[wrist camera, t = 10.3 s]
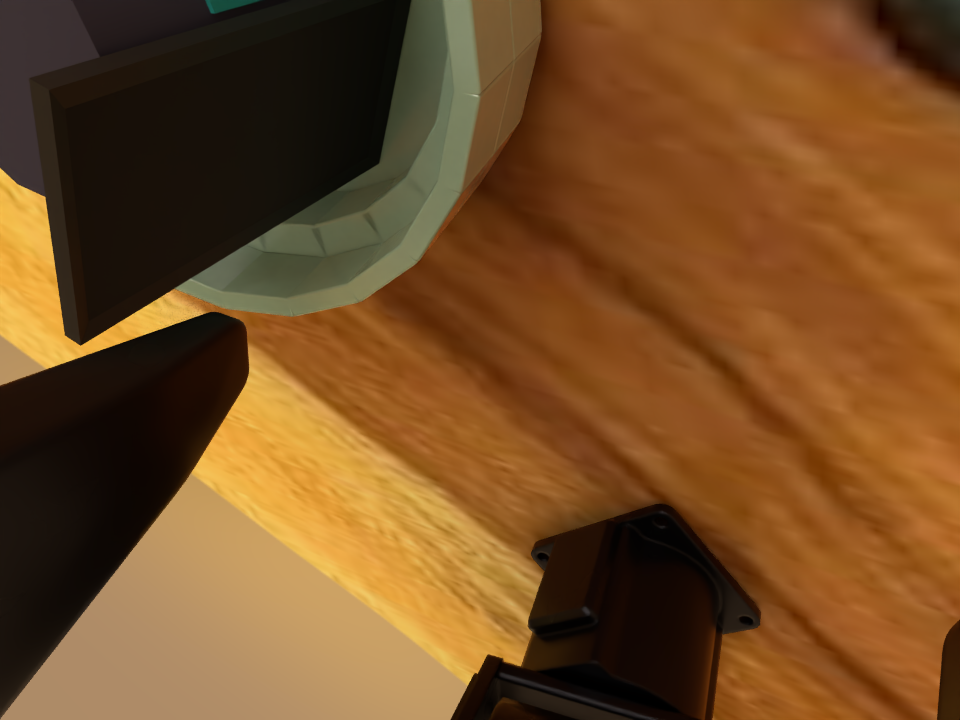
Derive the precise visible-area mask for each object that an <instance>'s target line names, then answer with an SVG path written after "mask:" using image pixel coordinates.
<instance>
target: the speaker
mask: <svg viewBox="0 0 960 720" xmlns="http://www.w3.org/2000/svg"><path fill="white" fill-rule="evenodd" d="M410 3H411V0H0V168H1V169H2V170H3V171H4V172H5V173H6V174H7V175H9V176H10V177H11V178H12V179H13V180H14V181H15V182H16V183H17V184H19V185H21V186H23V187H25V188H27V189H29V190H32V191H34V192H36V193H38V194H40V195H43V196H45V197H46V204H47V211H48V218H49V225H50V232H51V239H52V246H53V253H54V260H55V268H56V275H57V282H58V289H59V296H60V303H61V310H62V317H63V324H64V331H65V336H67V337H68V338H70V339H71V340H73V341H74V342H76V343H77V344H79V345H83V344H84V343H86V342H88V341H89V340H91V339H92V338H94V337H96V336H97V335H99V334H101V333H102V332H104V331H106V330H107V329H109V328H111V327H112V326H114V325H115V324H117V323H119V322H120V321H122V320H124V319H125V318H127V317H129V316H130V315H132V314H133V313H135V312H137V311H138V310H140V309H142V308H143V307H145V306H147V305H148V304H150V303H152V302H153V301H155V300H156V299H158V298H160V297H161V296H163V295H165V294H166V293H168V292H170V291H171V290H173V289H174V288H176V287H178V286H179V285H181V284H183V283H184V282H186V281H188V280H189V279H191V278H193V277H194V276H196V275H197V274H199V273H201V272H202V271H204V270H206V269H207V268H209V267H211V266H212V265H214V264H215V263H217V262H219V261H220V260H222V259H224V258H225V257H227V256H229V255H230V254H232V253H234V252H235V251H237V250H238V249H240V248H242V247H243V246H245V245H247V244H248V243H250V242H252V241H253V240H255V239H256V238H258V237H260V236H261V235H263V234H265V233H266V232H268V231H270V230H271V229H273V228H275V227H276V226H278V225H279V224H281V223H283V222H284V221H286V220H288V219H289V218H291V217H293V216H294V215H296V214H297V213H299V212H301V211H302V210H304V209H306V208H307V207H309V206H311V205H312V204H314V203H316V202H317V201H319V200H320V199H322V198H324V197H325V196H327V195H329V194H330V193H332V192H334V191H335V190H337V189H338V188H340V187H342V186H343V185H345V184H347V183H348V182H350V181H352V180H353V179H355V178H357V177H358V176H360V175H361V174H363V173H365V172H366V171H368V170H370V169H371V168H373V167H375V166H376V165H378V164H379V162H380V157H381V152H382V147H383V141H384V136H385V131H386V126H387V121H388V116H389V111H390V106H391V100H392V95H393V90H394V85H395V80H396V75H397V70H398V65H399V59H400V54H401V49H402V44H403V39H404V34H405V29H406V24H407V19H408V13H409V8H410Z"/></svg>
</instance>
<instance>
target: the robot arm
mask: <svg viewBox="0 0 960 720" xmlns="http://www.w3.org/2000/svg"><path fill="white" fill-rule="evenodd" d="M248 374H249V359H248V344H247V331H246V327H245V325H244V323H243V322H242V321H240V320H238V319H236V318H233V317H230V316H227V315H224V314H222V313H219V312H210V313H206V314H203V315H200V316H197V317H194V318H192V319H189V320H186V321H183V322H180V323H177V324H175V325H172V326H169V327H166V328H163V329H160V330H157V331H155V332H152V333H149V334H146V335H143V336H140V337H137V338H135V339H132V340H129V341H126V342H123V343H120V344H117V345H115V346H112V347H109V348H106V349H103V350H100V351H97V352H95V353H92V354H89V355H86V356H83V357H80V358H78V359H75V360H72V361H69V362H66V363H63V364H60V365H58V366H55V367H52V368H49V369H46V370H43V371H41V372H38V373H35V374H32V375H29V376H26V377H23V378H20V379H18V380H15V381H12V382H9V383H7V384H3V385H1V386H0V718H1V717H2V716H3V715H4V713H5V712H6V711H7V710H8V708H9V707H10V706H11V704H12V703H13V702H14V700H15V699H16V698H17V697H18V695H19V694H20V693H21V692H22V690H23V689H24V688H25V686H26V685H27V684H28V683H29V681H30V680H31V679H32V678H33V676H34V675H35V674H36V672H37V671H38V670H39V669H40V667H41V666H42V665H43V663H44V662H45V661H46V660H47V658H48V657H49V656H50V655H51V653H52V652H53V651H54V649H55V648H56V647H57V646H58V644H59V643H60V642H61V640H62V639H63V638H64V637H65V635H66V634H67V632H68V631H69V630H70V629H71V628H72V626H73V625H74V624H75V622H76V621H77V620H78V619H79V617H80V616H81V615H82V614H83V612H84V611H85V610H86V609H87V607H88V606H89V605H90V603H91V602H92V601H93V600H94V598H95V597H96V596H97V594H98V593H99V592H100V591H101V589H102V588H103V587H104V585H105V584H106V583H107V582H108V580H109V579H110V578H111V577H112V575H113V574H114V573H115V571H116V570H117V569H118V568H119V566H120V565H121V564H122V562H123V561H124V560H125V559H126V557H127V556H128V555H129V554H130V552H131V551H132V550H133V548H134V547H135V546H136V545H137V543H138V542H139V541H140V539H141V538H142V537H143V536H144V534H145V533H146V532H147V531H148V529H149V528H150V527H151V525H152V524H153V523H154V522H155V520H156V519H157V518H158V516H159V515H160V514H161V513H162V511H163V510H164V509H165V507H166V506H167V505H168V504H169V502H170V501H171V500H172V499H173V497H174V496H175V495H176V493H177V492H178V491H179V489H180V488H181V487H182V485H183V484H184V482H185V481H186V480H187V478H188V477H189V475H190V474H191V472H192V471H193V469H194V467H195V466H196V464H197V463H198V461H199V459H200V458H201V456H202V455H203V453H204V451H205V450H206V448H207V446H208V445H209V443H210V442H211V440H212V438H213V437H214V435H215V433H216V432H217V430H218V429H219V427H220V425H221V424H222V422H223V420H224V419H225V417H226V416H227V414H228V412H229V411H230V409H231V407H232V406H233V404H234V402H235V401H236V399H237V398H238V396H239V394H240V393H241V391H242V389H243V388H244V386H245V384H246V381H247V378H248ZM659 517H662V518H665V519H662V518H659ZM531 556H532V558H533V559H534V560H535V562H536V563H537V564H538V565H539V566H540V567H541V568H542V569H543V570H544V571H545V572H544V575H543V578H542V581H541V584H540V587H539V589H538V592H537V595H536V598H535V601H534V604H533V607H532V610H531V613H530V616H529V620H528V627H529V629H530V630H531V631H532V635H531V638H530V641H529V644H528V647H527V650H526V653H525V656H524V659H523V662H522V665H521V667H520V666H517V665H513V664H510V663H506V662H504V660H503V658H499V657H496V656H492V655H489V654H488V655H487V657H486V659H485V661H484V663H483V665H482V666H481V668H480V670H479V672H478V674H477V673H475V674H474V675H473V677H472V679H471V681H470V683H469V685H468V687H467V689H466V691H465V693H464V695H463V696H462V698H461V700H460V703H459V704H458V706H457V708H456V710H455V712H454V714H453V716H452V718H451V720H712V718H713V710H714V701H715V693H716V684H717V676H718V667H719V659H720V650H721V642H722V634H727V633H733V632H738V631H744V630H750V629H754V628H757V627H758V626H759V625H760V619H761V612H760V610H759V608H758V607H757V606H756V605H755V604H754V602H753V601H752V600H751V599H750V598H749V597H748V595H747V594H746V593H745V592H744V591H743V590H742V588H741V587H740V586H739V585H738V584H737V582H736V581H735V580H734V579H733V578H732V577H731V575H730V574H729V573H728V572H727V571H726V569H725V568H724V567H723V566H722V565H721V564H720V562H719V561H718V560H717V559H716V558H715V557H714V555H713V554H712V553H711V552H710V551H709V549H708V548H707V547H706V546H705V545H704V544H703V542H702V541H701V540H700V539H699V538H698V537H697V535H696V534H695V533H694V532H693V531H692V529H691V528H690V527H689V526H688V525H687V524H686V522H685V521H684V520H683V519H682V518H681V517H680V515H679V514H678V513H677V512H676V511H675V510H674V509H673V508H672V507H670V506H668V505H665V504H656V505H652V506H649V507H646V508H642V509H639V510H636V511H633V512H630V513H626V514H623V515H620V516H617V517H614V518H610V519H607V520H604V521H601V522H597V523H594V524H591V525H588V526H585V527H581V528H578V529H575V530H572V531H569V532H565V533H562V534H559V535H556V536H552V537H549V538H546V539H543V540H540V541H537V542H536V543H535V544H534V546H533V549H532V552H531ZM937 720H960V620H959V621H958V622H957V623H956V624H955V625H954V626H953V627H952V628H951V629H950V630H949V632H948V634H947V636H946V638H945V641H944V645H943V652H942V665H941V677H940V689H939V702H938V714H937Z"/></svg>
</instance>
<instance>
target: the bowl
mask: <svg viewBox="0 0 960 720" xmlns="http://www.w3.org/2000/svg"><path fill="white" fill-rule="evenodd" d="M541 33H542V22H541V3H540V0H411V3H410V8H409V13H408V19H407V24H406V29H405V34H404V39H403V44H402V49H401V54H400V59H399V65H398V70H397V75H396V80H395V85H394V90H393V95H392V100H391V106H390V111H389V116H388V121H387V126H386V131H385V136H384V141H383V147H382V152H381V157H380V162H379V164H378V165H376V166H375V167H373V168H371V169H370V170H368V171H366V172H365V173H363V174H361V175H360V176H358V177H357V178H355V179H353V180H352V181H350V182H348V183H347V184H345V185H343V186H342V187H340V188H338V189H337V190H335V191H334V192H332V193H330V194H329V195H327V196H325V197H324V198H322V199H320V200H319V201H317V202H316V203H314V204H312V205H311V206H309V207H307V208H306V209H304V210H302V211H301V212H299V213H297V214H296V215H294V216H293V217H291V218H289V219H288V220H286V221H284V222H283V223H281V224H279V225H278V226H276V227H275V228H273V229H271V230H270V231H268V232H266V233H265V234H263V235H261V236H260V237H258V238H256V239H255V240H253V241H252V242H250V243H248V244H247V245H245V246H243V247H242V248H240V249H238V250H237V251H235V252H234V253H232V254H230V255H229V256H227V257H225V258H224V259H222V260H220V261H219V262H217V263H215V264H214V265H212V266H211V267H209V268H207V269H206V270H204V271H202V272H201V273H199V274H197V275H196V276H194V277H193V278H191V279H189V280H188V281H186V282H184V283H183V284H181V285H179V286H178V287H176V288H174V289H176V290H179V291H181V292H184V293H186V294H189V295H191V296H194V297H196V298H199V299H201V300H204V301H206V302H209V303H211V304H214V305H216V306H219V307H221V308H225V309H230V310H239V311H247V312H256V313H264V314H273V315H281V316H290V317H293V316H300V315H305V314H309V313H314V312H318V311H323V310H328V309H332V308H337V307H341V306H346V305H351V304H355V303H359V302H362V301H364V300H365V299H367V298H368V297H369V296H371V295H372V294H374V293H375V292H377V291H378V290H380V289H381V288H382V287H384V286H385V285H387V284H388V283H390V282H391V281H393V280H394V279H395V278H397V277H398V276H400V275H401V274H403V273H404V272H406V271H407V270H408V269H410V268H411V267H413V266H414V265H416V264H417V263H418V262H419V260H421V258H422V257H423V256H424V255H425V253H426V252H427V251H428V250H429V248H430V247H431V246H432V244H433V243H434V242H435V241H436V239H437V238H438V237H439V236H440V234H441V233H442V232H443V230H444V229H445V228H446V227H447V225H448V224H449V223H450V222H451V220H452V219H453V217H454V216H455V215H456V214H457V213H458V211H459V210H460V209H461V208H462V206H463V205H464V204H465V203H466V201H467V200H468V199H469V197H470V196H471V195H472V194H473V192H474V191H475V190H476V189H477V187H478V186H479V185H480V183H481V182H482V180H483V179H484V177H485V176H486V174H487V173H488V171H489V170H490V168H491V166H492V165H493V163H494V162H495V160H496V159H497V157H498V156H499V154H500V152H501V151H502V149H503V148H504V146H505V145H506V143H507V142H508V140H509V138H510V137H511V135H512V134H513V132H514V131H515V129H516V128H517V126H518V124H519V122H520V120H521V117H522V113H523V109H524V105H525V101H526V97H527V93H528V89H529V85H530V81H531V77H532V72H533V68H534V64H535V60H536V56H537V52H538V48H539V44H540V40H541Z"/></svg>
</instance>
